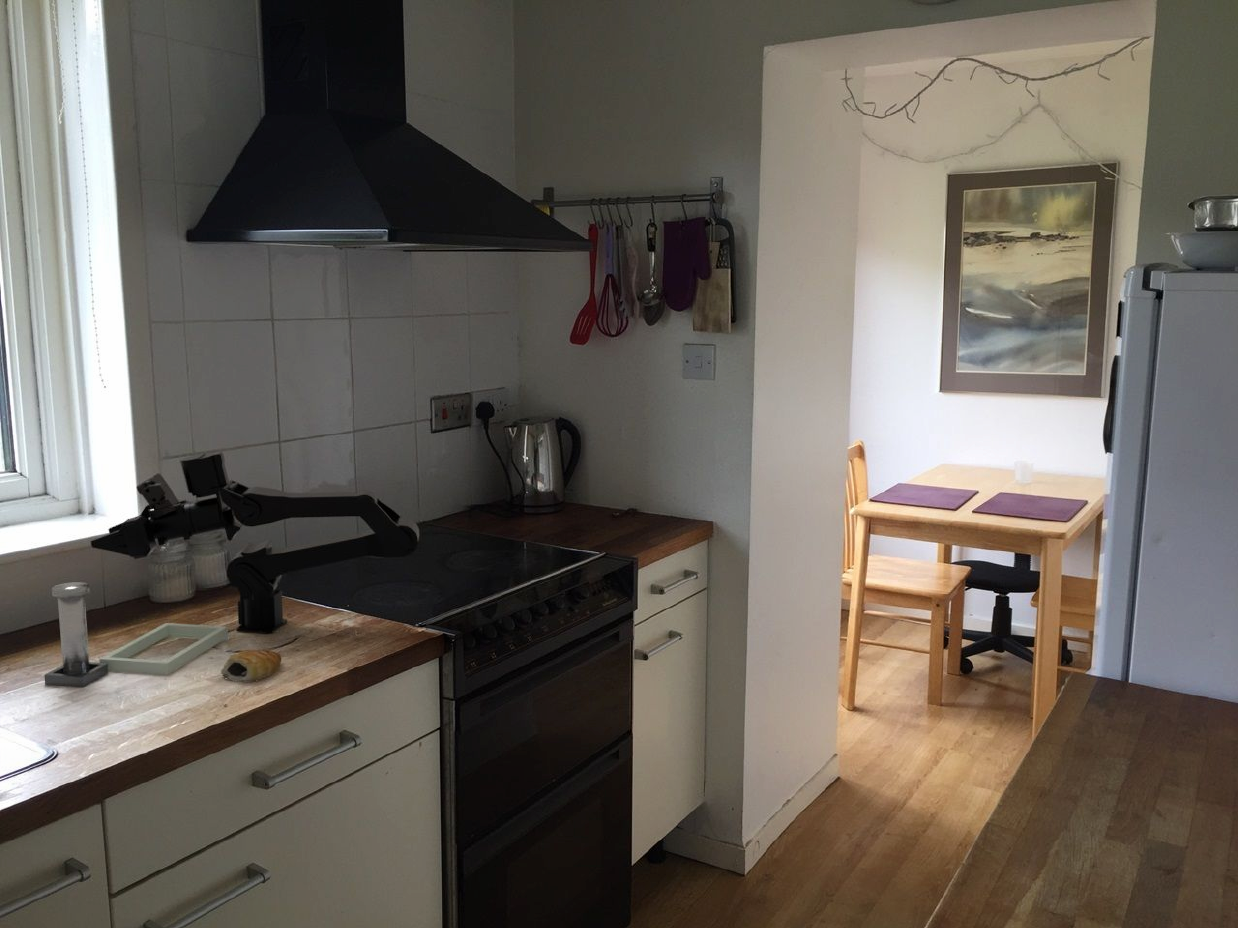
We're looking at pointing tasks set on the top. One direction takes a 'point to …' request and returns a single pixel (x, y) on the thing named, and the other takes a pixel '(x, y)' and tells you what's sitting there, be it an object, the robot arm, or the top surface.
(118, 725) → the top surface
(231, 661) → the pastry
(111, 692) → the top surface
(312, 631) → the top surface
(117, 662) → the tray
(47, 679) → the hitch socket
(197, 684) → the top surface
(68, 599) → the pin
